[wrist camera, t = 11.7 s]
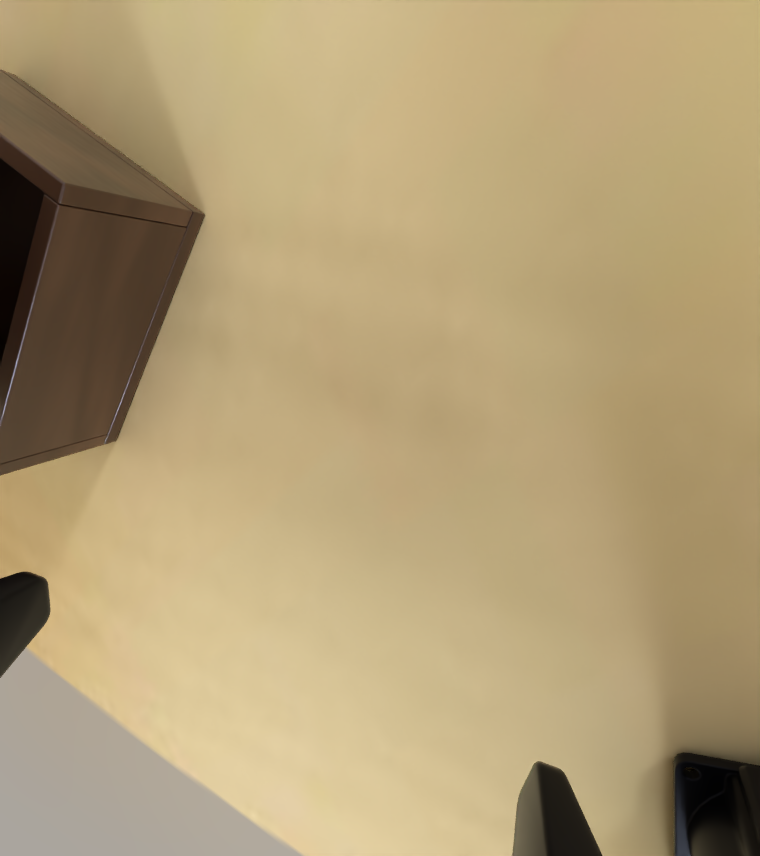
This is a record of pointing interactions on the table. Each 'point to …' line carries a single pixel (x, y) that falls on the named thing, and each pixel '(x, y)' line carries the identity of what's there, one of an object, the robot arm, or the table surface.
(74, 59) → the table surface
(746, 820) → the robot arm
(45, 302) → the box
